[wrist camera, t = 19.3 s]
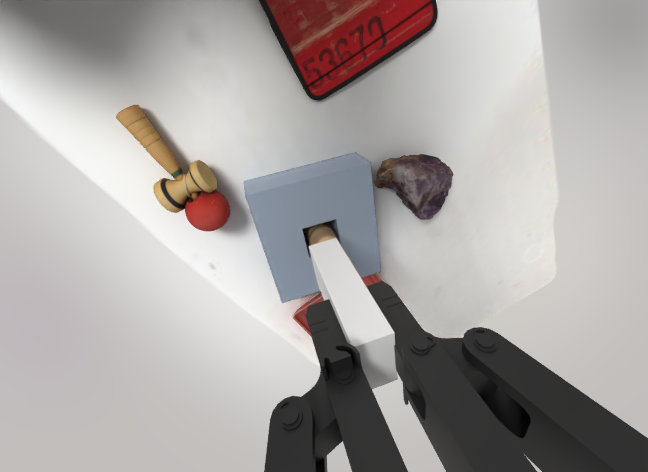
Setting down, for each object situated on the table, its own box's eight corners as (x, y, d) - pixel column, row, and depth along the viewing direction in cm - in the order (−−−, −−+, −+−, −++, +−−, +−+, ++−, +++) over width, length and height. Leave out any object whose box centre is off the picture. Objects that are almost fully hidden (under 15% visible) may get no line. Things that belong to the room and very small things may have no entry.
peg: (299, 214, 49) (327, 278, 34) (322, 208, 50) (361, 267, 35) (304, 235, 52) (333, 304, 36) (326, 229, 52) (365, 293, 37)
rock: (396, 209, 56) (438, 171, 54) (423, 235, 49) (472, 192, 47) (363, 172, 48) (410, 126, 46) (390, 197, 42) (445, 145, 40)
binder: (244, -29, 32) (409, -144, 31) (242, -24, 34) (398, -132, 33) (315, 108, 41) (444, 22, 40) (311, 106, 43) (434, 24, 42)
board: (243, 181, 44) (245, 195, 39) (355, 152, 47) (370, 162, 42) (277, 281, 55) (282, 303, 50) (367, 253, 57) (380, 271, 52)
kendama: (105, 130, 38) (198, 236, 46) (87, 127, 32) (197, 249, 40) (158, 99, 39) (240, 208, 47) (148, 90, 33) (244, 216, 41)
